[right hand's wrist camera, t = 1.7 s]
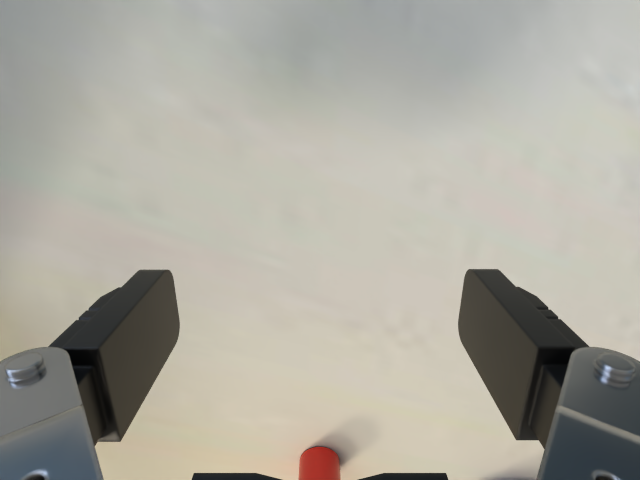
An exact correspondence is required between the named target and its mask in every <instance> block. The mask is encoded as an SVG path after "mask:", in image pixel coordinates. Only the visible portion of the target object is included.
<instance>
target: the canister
mask: <svg viewBox="0 0 640 480" xmlns="http://www.w3.org/2000/svg"><path fill="white" fill-rule="evenodd" d="M299 480H340V462H339V457H338V455H337V454H336V453H335V452H334V451H333V450H331V449H329V448H326V447H313V448H310V449H308V450H306V451H305V452H304V453H303V454H302V456H301V458H300V465H299Z"/></svg>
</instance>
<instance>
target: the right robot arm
mask: <svg viewBox="0 0 640 480" xmlns="http://www.w3.org/2000/svg"><path fill="white" fill-rule="evenodd" d="M179 328H180V322H179V314H178V307H177V300H176V293H175V287H174V280H173V276H172V273H171V272H170V271H169V270H139V271H138V272H137V273H136V274H135V275H134V276H133V277H132V278H131V279H130V280H129V281H128V282H127V283H126V284H125V285H124V286H123V287H121V288H117V289H115V290H113V291H111V292H109V293H107V294H106V295H104V296H102V297H100V298H99V299H98V300H97V301H96V302H95V303H94V304H93V305H92V306H91V307H90V308H89V311H85V312H84V313H83V314H82V315H81V316H80V317H79V320H76V321H75V322H74V323H73V324H72V325H71V326H70V327H69V328H67V329H66V330H65V331H64V332H63V333H62V334H61V335H60V336H59V337H58V338H57V339H56V340H55V341H54V342H53V343H52V344H51V345H49V346H48V347H42V348H35V349H31V350H27V351H23V352H21V353H18V354H15V355H13V356H10V357H8V358H6V359H4V360H2V361H1V362H0V480H103V476H102V472H101V469H100V465H99V461H98V458H97V454H96V450H95V445H96V443H97V442H120V441H121V440H122V438H123V436H124V434H125V433H126V431H127V429H128V427H129V426H130V424H131V422H132V420H133V419H134V417H135V415H136V413H137V412H138V410H139V408H140V406H141V404H142V403H143V401H144V399H145V397H146V396H147V394H148V392H149V390H150V389H151V387H152V385H153V383H154V382H155V380H156V378H157V376H158V375H159V373H160V371H161V369H162V367H163V366H164V364H165V362H166V360H167V359H168V357H169V355H170V353H171V352H172V350H173V348H174V346H175V345H176V342H177V340H178V336H179ZM458 329H459V336H460V339H461V342H462V344H463V346H464V348H465V349H466V351H467V353H468V355H469V357H470V358H471V360H472V362H473V364H474V366H475V367H476V369H477V371H478V373H479V374H480V376H481V378H482V380H483V382H484V383H485V385H486V387H487V389H488V391H489V392H490V394H491V396H492V398H493V399H494V401H495V403H496V405H497V407H498V408H499V410H500V412H501V414H502V415H503V417H504V419H505V421H506V423H507V424H508V426H509V428H510V430H511V432H512V433H513V435H514V437H515V439H516V440H539V441H540V443H541V444H542V446H543V448H544V449H545V450H544V454H543V458H542V461H541V465H540V469H539V472H538V476H537V480H640V362H639V361H638V360H636V359H634V358H632V357H630V356H627V355H625V354H622V353H619V352H617V351H613V350H609V349H605V348H598V347H589V346H588V345H587V344H586V343H585V342H584V341H583V340H582V339H581V338H580V337H579V336H578V335H577V334H575V333H574V332H573V331H572V330H571V329H570V328H569V327H568V326H567V325H566V324H565V323H564V322H563V321H562V320H561V319H558V316H557V315H556V314H555V313H553V312H552V311H551V310H548V307H547V306H546V305H545V304H544V303H543V302H542V301H541V300H540V299H539V298H538V297H537V296H535V295H533V294H531V293H529V292H527V291H526V290H524V289H522V288H520V287H515V286H514V285H513V284H512V283H511V282H510V281H509V280H508V279H507V277H506V276H505V275H504V274H503V273H502V272H501V271H499V270H498V269H469V270H468V271H467V272H466V274H465V278H464V284H463V291H462V299H461V306H460V313H459V320H458ZM192 480H281V479H277V478H273V477H269V476H265V475H261V474H257V473H194V475H193V478H192ZM359 480H448V478H447V475H446V473H383V474H379V475H375V476H371V477H367V478H363V479H359Z"/></svg>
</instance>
